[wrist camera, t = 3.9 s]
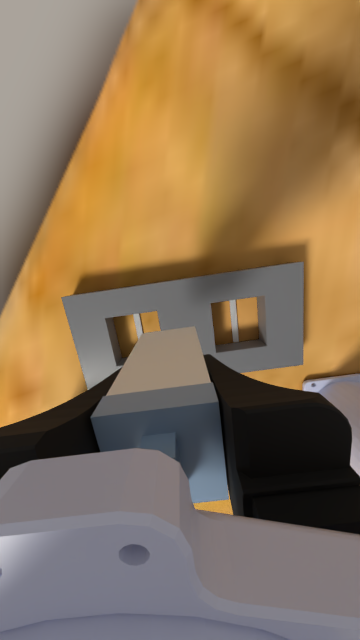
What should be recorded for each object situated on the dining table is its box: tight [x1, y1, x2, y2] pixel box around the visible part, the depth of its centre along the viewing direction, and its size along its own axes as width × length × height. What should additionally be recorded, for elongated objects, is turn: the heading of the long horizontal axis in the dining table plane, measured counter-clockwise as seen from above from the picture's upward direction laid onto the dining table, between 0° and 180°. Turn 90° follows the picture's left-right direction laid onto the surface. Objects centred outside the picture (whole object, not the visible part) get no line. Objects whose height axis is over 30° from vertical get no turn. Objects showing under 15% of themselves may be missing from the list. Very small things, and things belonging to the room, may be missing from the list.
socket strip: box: [61, 262, 304, 390], centre depth 20 cm, size 22×10×2 cm, turn 98°
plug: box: [90, 326, 229, 503], centre depth 10 cm, size 4×4×9 cm
